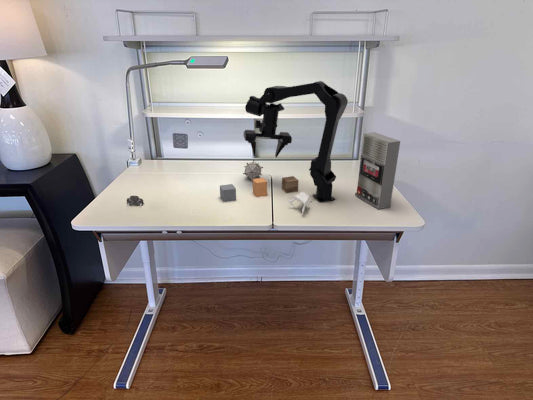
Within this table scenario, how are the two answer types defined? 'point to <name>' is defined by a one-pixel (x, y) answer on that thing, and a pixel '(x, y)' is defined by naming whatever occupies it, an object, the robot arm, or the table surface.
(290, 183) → the walnut block
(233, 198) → the charcoal grey block
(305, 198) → the origami figure
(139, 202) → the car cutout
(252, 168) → the grey spiky ball
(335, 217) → the table surface
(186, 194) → the table surface
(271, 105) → the robot arm
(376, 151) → the cassette tape recorder
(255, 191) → the rust orange block
